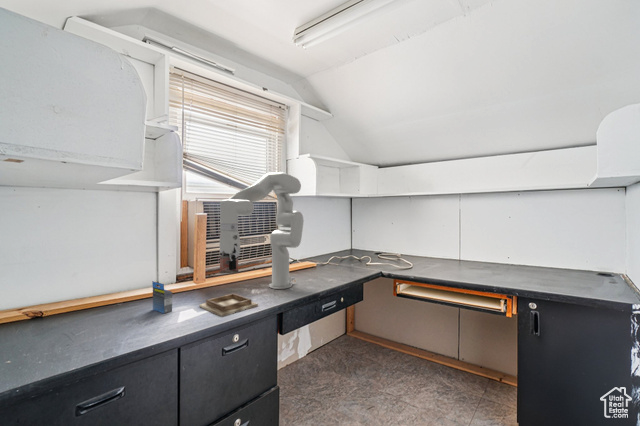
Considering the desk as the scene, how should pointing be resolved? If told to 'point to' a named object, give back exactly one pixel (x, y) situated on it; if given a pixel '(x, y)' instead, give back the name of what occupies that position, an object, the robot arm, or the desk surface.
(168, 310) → the label tape cartridge
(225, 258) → the reddish brown box
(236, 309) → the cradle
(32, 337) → the desk surface
